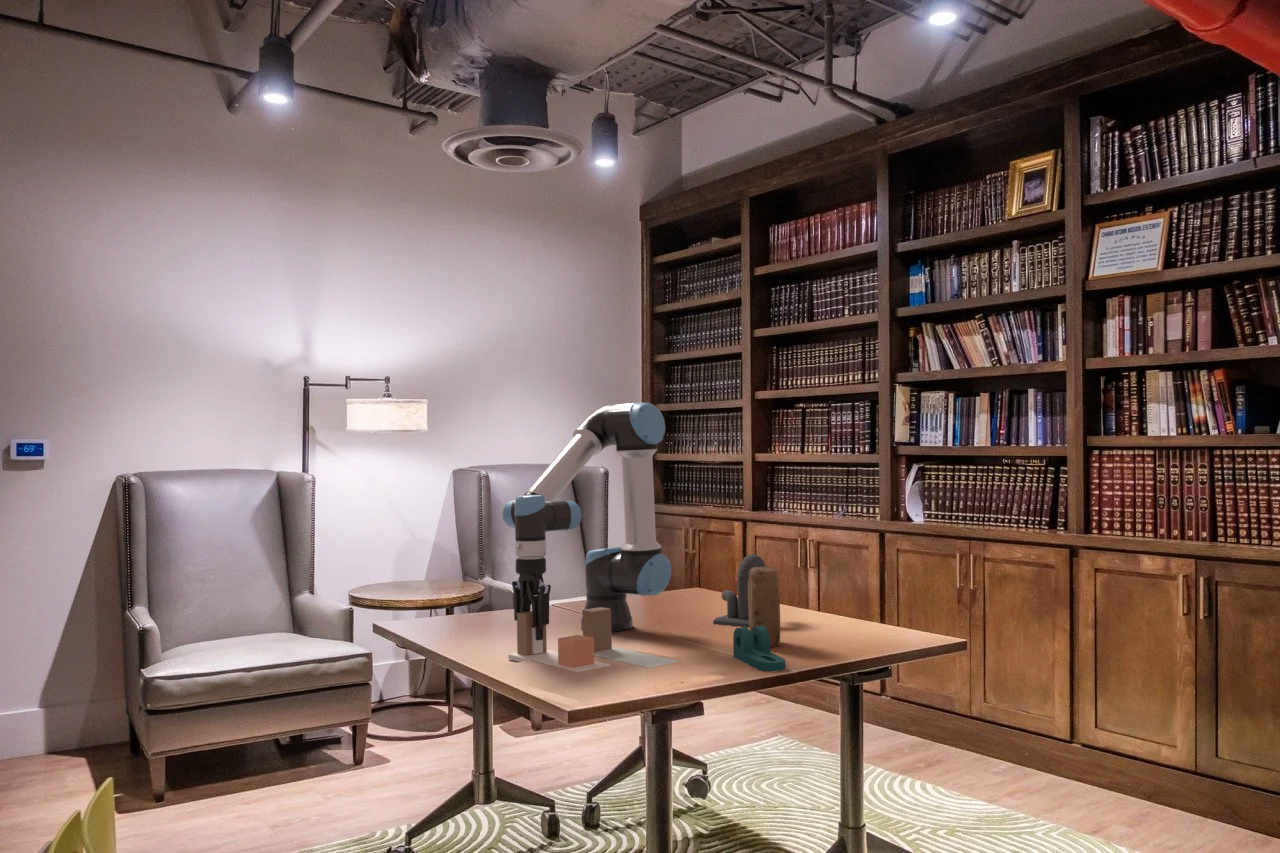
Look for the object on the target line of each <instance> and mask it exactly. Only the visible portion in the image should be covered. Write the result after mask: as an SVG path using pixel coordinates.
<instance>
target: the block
mask: <svg viewBox="0 0 1280 853" xmlns="http://www.w3.org/2000/svg"><path fill="white" fill-rule="evenodd" d="M779 587H780V585H779V572H778V570H777V569H776V567H773V566H766V567H753V568H751V569H750V571H749V577H748V613H749V628H748V629H749V630H750V632H751V629H752V628H753V627H756V626H764V627H766V629H767V631H768V633H769V638H770V648H773V647H775V646H779V645H780V643H781V606H780V605H781V604H780V602H781V601H780V600H781V599H780V588H779Z"/></svg>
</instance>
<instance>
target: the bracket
mask: <svg viewBox="0 0 1280 853" xmlns="http://www.w3.org/2000/svg"><path fill="white" fill-rule="evenodd" d="M732 640H733V641H732V642H733V643H732V644H733V647H732V648H733V658H734V659H737V660H738V661H740V662H742V663H744V664H746V665H748V666H750V667H752V668H754V669H755V668H756V669H755V670H757V671H761V672H766V671H777V670H783V669H785V668H786V667H787V665H786V658H784V657H782V656H781V655H778V654H776V653H773V652H771V647H770V638H769V633H768V631H767V629H766V627H764V626H756V627H753V628H752V629H751V632H750V628H747V627H736V628H735V629H734V632H733V639H732ZM786 669H787V668H786ZM786 669H785V670H786ZM783 671H784V670H783ZM777 672H778V671H777Z"/></svg>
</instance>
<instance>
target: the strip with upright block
mask: <svg viewBox="0 0 1280 853" xmlns="http://www.w3.org/2000/svg"><path fill="white" fill-rule="evenodd" d="M582 617H583V629H582V636H587V637H592V638H594V657H595V656H596V657H600V658H604V659H609V660H613V661H616V662H617V661H618V662H621V663H625V664H628V665H629V664H630V665H633V666H634V665H635V666H638V667H642V668H647V669H651V668H656V667H660V666H665V665H669V664H670V665H671V664H675V663H680V662H681V660H678V659H672V658H668V657H664V656H658V655H653V654H650V653H644V652H640V651H636V650H631V649H625V648H622V647H616V646H613V645H612V644H613V643H612V642H613V641H612V632H611V609H609V608H603V607H599V608H592V609H586V610H584V609H582Z"/></svg>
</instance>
